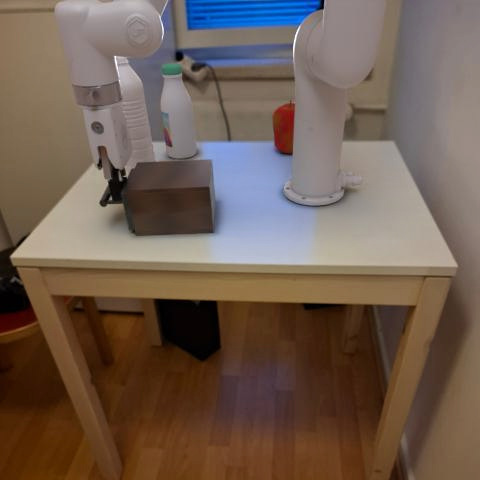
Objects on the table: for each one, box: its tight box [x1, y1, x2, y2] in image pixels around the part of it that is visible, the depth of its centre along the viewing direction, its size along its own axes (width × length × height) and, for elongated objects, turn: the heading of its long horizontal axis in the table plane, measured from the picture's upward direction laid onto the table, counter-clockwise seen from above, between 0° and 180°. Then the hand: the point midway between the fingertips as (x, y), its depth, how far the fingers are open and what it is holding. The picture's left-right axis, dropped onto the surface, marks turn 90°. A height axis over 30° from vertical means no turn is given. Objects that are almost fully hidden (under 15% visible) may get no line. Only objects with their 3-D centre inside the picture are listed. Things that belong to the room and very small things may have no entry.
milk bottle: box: [159, 62, 198, 160], centre depth 104 cm, size 8×8×20 cm
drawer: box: [98, 168, 135, 231], centre depth 83 cm, size 18×11×7 cm, turn 91°
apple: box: [271, 99, 295, 155], centre depth 106 cm, size 9×8×12 cm
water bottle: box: [116, 56, 157, 176], centre depth 92 cm, size 9×6×25 cm
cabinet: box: [126, 159, 216, 237], centre depth 83 cm, size 15×12×9 cm
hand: (121, 198), depth 83 cm, fingers closed
